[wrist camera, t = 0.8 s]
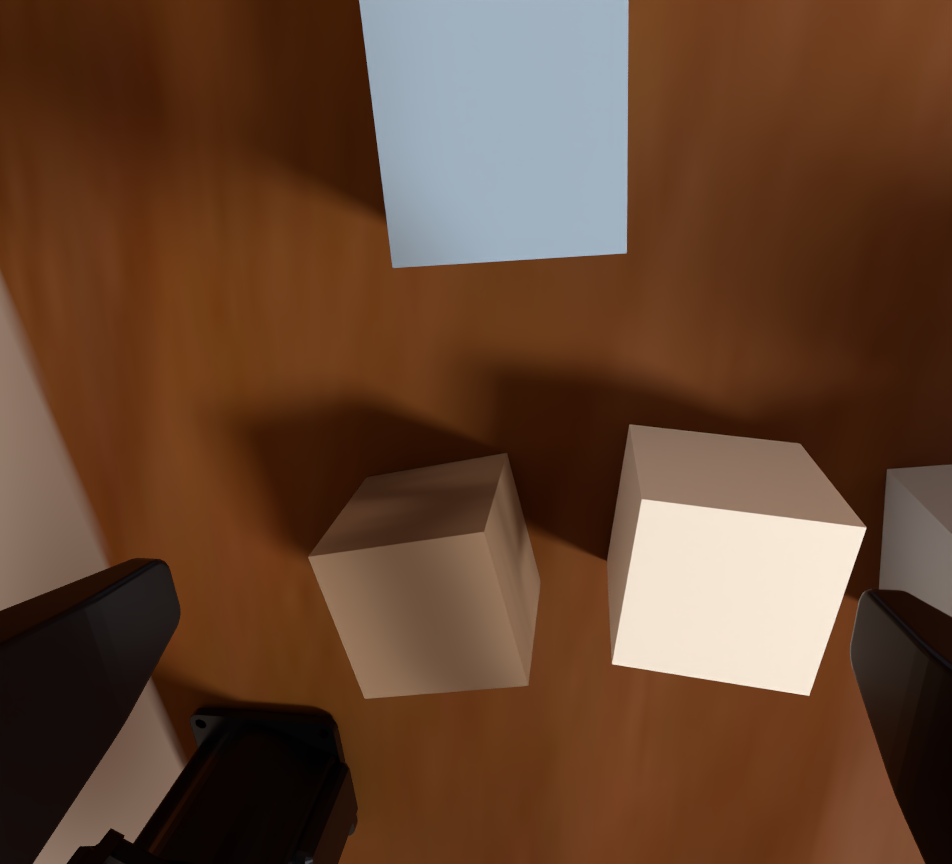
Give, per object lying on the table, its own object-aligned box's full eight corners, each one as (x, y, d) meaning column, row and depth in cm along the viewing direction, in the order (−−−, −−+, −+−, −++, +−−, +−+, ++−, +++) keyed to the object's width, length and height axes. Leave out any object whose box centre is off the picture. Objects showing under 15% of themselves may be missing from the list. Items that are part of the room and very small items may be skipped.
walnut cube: (408, 595, 23) (364, 699, 19) (367, 476, 22) (308, 556, 17) (540, 580, 22) (527, 685, 18) (507, 452, 21) (483, 531, 16)
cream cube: (606, 559, 21) (611, 664, 17) (629, 423, 20) (641, 499, 15) (760, 581, 21) (808, 695, 16) (799, 442, 19) (866, 527, 14)
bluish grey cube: (441, 244, 18) (392, 267, 14) (422, 47, 17) (358, 0, 12) (617, 232, 18) (626, 253, 13) (617, 22, 16) (628, -40, 11)
